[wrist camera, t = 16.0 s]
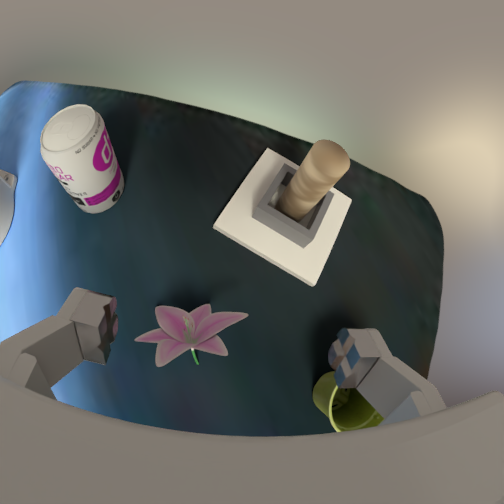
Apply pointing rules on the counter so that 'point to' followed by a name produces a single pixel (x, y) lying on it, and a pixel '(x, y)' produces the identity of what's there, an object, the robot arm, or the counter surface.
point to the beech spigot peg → (313, 179)
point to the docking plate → (282, 220)
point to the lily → (188, 331)
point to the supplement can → (82, 158)
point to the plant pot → (344, 405)
